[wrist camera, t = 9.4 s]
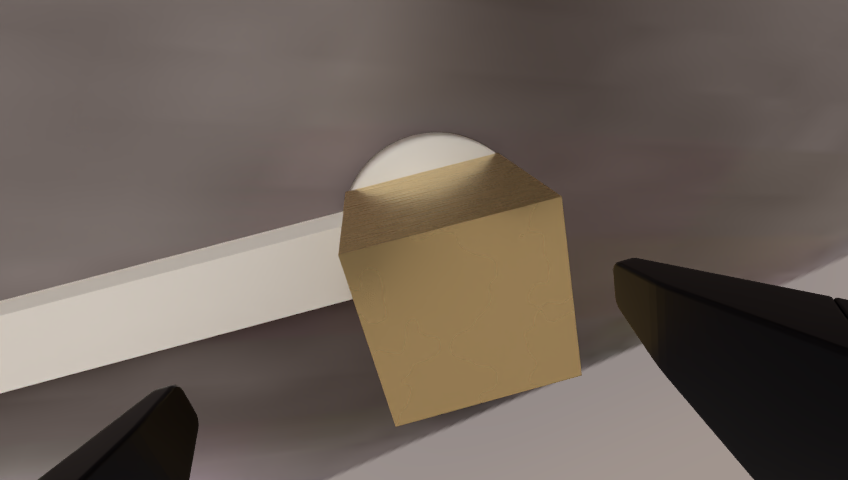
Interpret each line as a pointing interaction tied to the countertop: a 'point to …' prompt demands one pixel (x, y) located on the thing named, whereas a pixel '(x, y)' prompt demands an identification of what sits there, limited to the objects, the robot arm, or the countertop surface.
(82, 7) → the countertop surface
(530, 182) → the tan cardboard cube
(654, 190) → the countertop surface
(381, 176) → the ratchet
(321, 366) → the countertop surface
